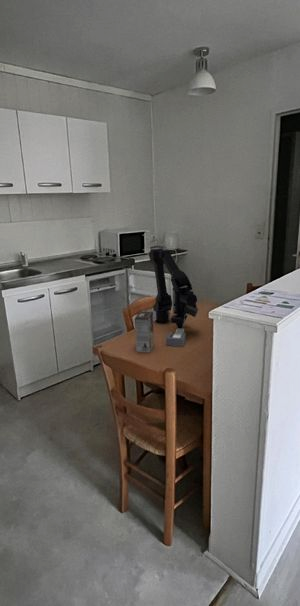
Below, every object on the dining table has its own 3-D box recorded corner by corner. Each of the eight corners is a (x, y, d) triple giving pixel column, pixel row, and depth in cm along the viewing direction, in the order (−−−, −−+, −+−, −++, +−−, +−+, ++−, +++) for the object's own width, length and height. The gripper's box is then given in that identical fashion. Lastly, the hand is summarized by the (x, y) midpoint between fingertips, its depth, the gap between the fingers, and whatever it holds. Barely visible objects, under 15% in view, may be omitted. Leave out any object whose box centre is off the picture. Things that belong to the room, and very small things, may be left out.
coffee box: (140, 343, 167) (139, 311, 162) (154, 344, 166) (153, 311, 161) (136, 351, 158) (134, 317, 153) (150, 352, 157) (149, 318, 152)
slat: (172, 343, 166) (172, 337, 165) (177, 333, 177) (177, 328, 176) (179, 344, 165) (179, 338, 164) (184, 334, 176) (184, 328, 176)
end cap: (166, 345, 164) (166, 338, 163) (169, 338, 172) (169, 331, 171) (182, 346, 162) (182, 339, 161) (185, 339, 170) (185, 332, 169)
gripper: (194, 307, 162) (194, 339, 167) (199, 295, 179) (199, 324, 184) (170, 306, 165) (171, 337, 170) (177, 295, 182) (177, 323, 187)
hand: (180, 330), depth 178 cm, fingers closed
